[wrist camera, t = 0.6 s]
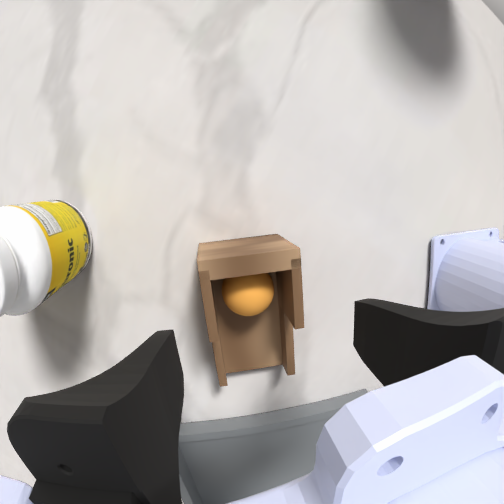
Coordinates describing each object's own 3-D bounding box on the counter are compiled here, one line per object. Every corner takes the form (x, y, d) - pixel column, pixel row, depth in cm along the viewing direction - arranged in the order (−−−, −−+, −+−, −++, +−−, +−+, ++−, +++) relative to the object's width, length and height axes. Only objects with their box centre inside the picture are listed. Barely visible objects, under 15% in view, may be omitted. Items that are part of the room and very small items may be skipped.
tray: (369, 387, 24) (387, 410, 21) (354, 475, 27) (366, 495, 23) (163, 424, 22) (160, 453, 18) (197, 505, 25) (198, 529, 21)
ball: (266, 255, 19) (277, 267, 16) (270, 301, 20) (281, 319, 17) (217, 262, 19) (219, 275, 16) (223, 308, 20) (226, 328, 17)
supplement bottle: (71, 294, 19) (-3, 363, 9) (18, 246, 18) (-73, 284, 8) (110, 232, 19) (35, 270, 9) (53, 183, 17) (-44, 185, 8)
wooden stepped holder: (277, 234, 20) (299, 248, 15) (286, 356, 22) (305, 395, 17) (198, 243, 20) (197, 261, 15) (217, 366, 21) (222, 410, 17)
